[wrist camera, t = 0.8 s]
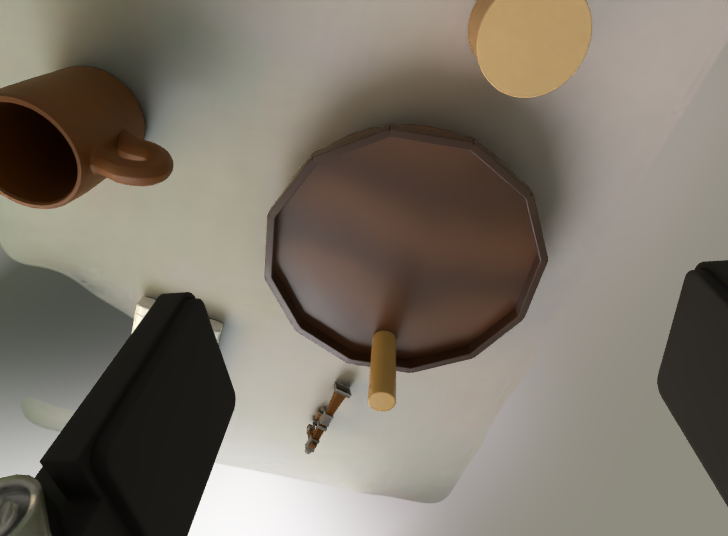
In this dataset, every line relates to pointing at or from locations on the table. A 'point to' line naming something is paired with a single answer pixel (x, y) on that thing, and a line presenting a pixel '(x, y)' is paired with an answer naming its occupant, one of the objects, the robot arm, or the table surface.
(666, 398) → the robot arm
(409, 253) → the tray
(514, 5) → the tan cylinder
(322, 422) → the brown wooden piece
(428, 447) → the table surface
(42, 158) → the mug
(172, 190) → the table surface
